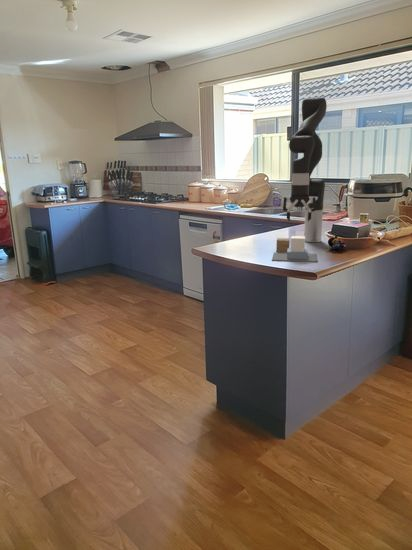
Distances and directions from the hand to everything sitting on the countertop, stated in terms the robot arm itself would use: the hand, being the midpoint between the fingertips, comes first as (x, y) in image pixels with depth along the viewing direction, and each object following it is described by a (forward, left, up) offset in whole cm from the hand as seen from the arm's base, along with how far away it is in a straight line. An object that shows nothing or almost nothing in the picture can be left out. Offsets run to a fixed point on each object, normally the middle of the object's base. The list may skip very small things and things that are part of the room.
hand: (298, 220), depth 193 cm
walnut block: (-14, -7, -17) cm, 23 cm away
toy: (-20, +19, -18) cm, 32 cm away
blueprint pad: (0, 0, -17) cm, 17 cm away
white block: (0, 0, -14) cm, 14 cm away
